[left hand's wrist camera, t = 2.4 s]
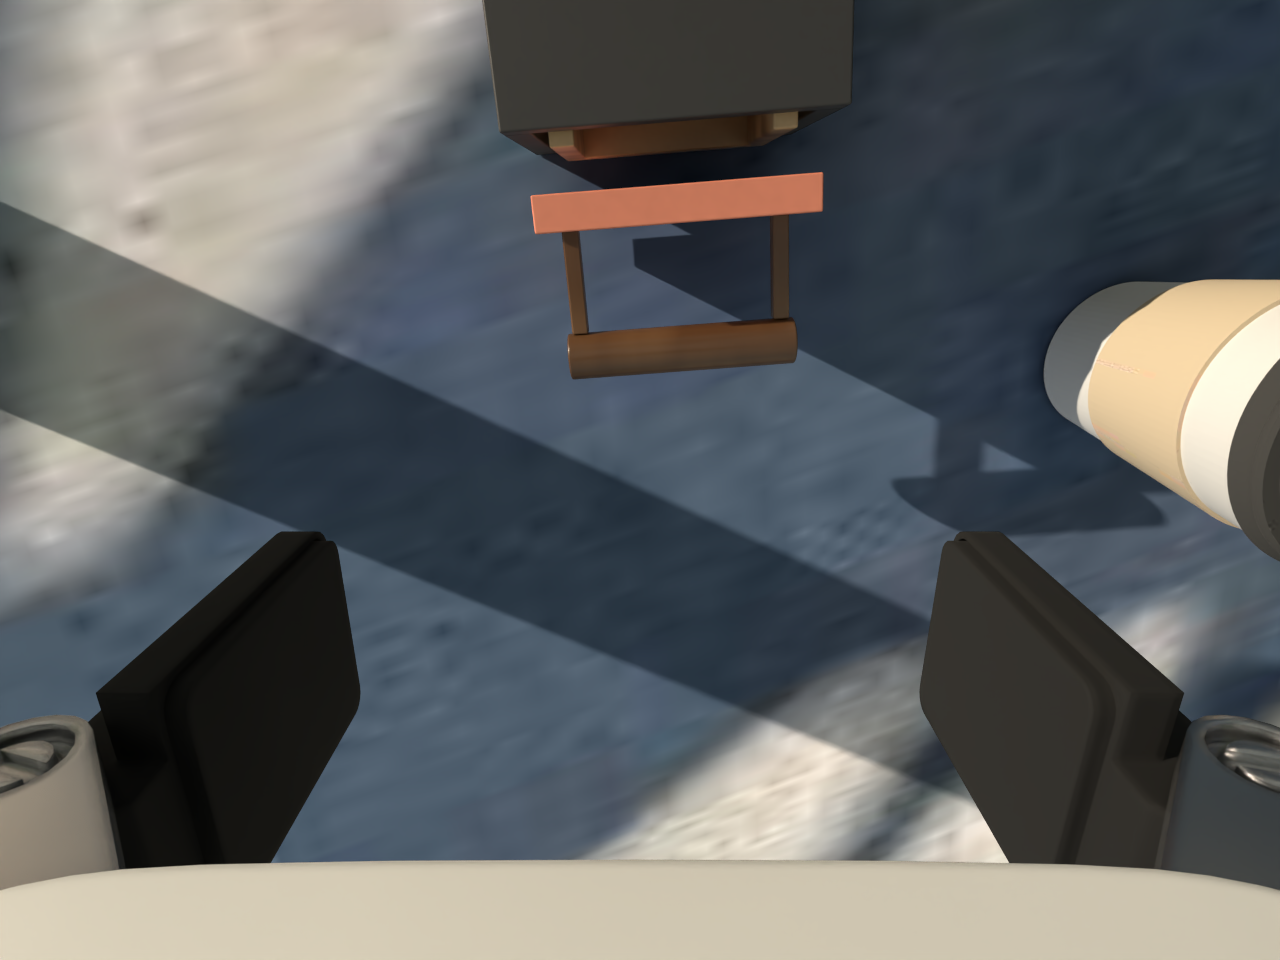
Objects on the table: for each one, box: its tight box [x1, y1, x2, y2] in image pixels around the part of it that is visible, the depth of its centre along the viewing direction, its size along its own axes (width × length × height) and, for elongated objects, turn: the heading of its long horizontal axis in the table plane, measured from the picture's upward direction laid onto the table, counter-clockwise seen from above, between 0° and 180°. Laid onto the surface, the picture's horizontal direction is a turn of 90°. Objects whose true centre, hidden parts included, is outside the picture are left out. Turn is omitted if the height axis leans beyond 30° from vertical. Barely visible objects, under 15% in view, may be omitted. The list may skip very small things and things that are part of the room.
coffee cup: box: [1044, 280, 1280, 561], centre depth 26 cm, size 9×9×15 cm
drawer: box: [531, 112, 823, 379], centre depth 25 cm, size 25×10×7 cm, turn 4°
